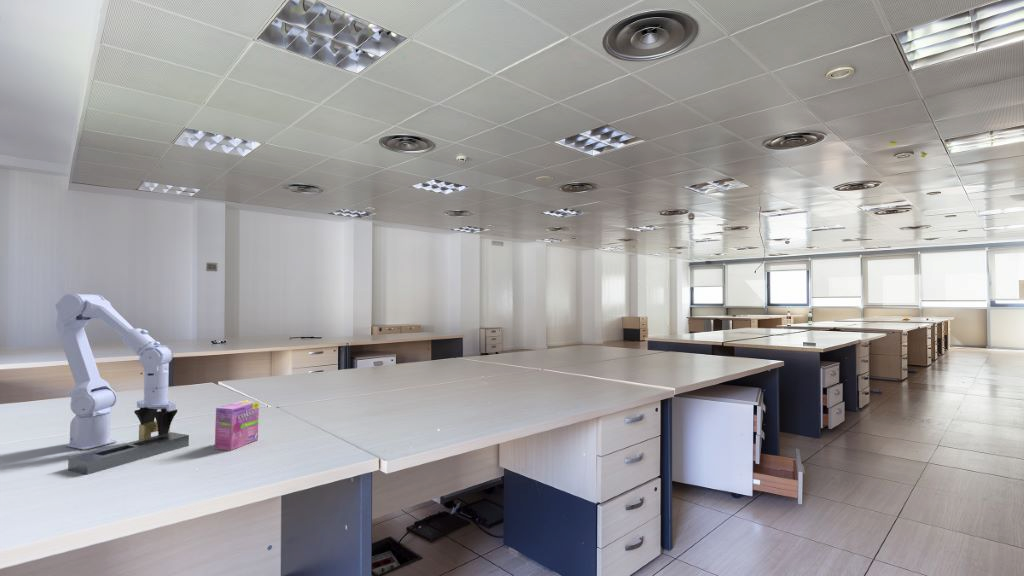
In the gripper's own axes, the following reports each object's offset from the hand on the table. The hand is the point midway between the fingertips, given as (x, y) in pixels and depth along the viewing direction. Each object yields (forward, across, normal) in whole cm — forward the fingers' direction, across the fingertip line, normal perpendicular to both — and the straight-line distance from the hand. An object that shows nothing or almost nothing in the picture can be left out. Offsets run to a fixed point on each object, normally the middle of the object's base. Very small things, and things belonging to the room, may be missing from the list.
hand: (155, 433), depth 135 cm
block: (+3, +8, -10) cm, 13 cm away
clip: (+3, 0, 0) cm, 3 cm away
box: (+3, +24, +8) cm, 25 cm away
